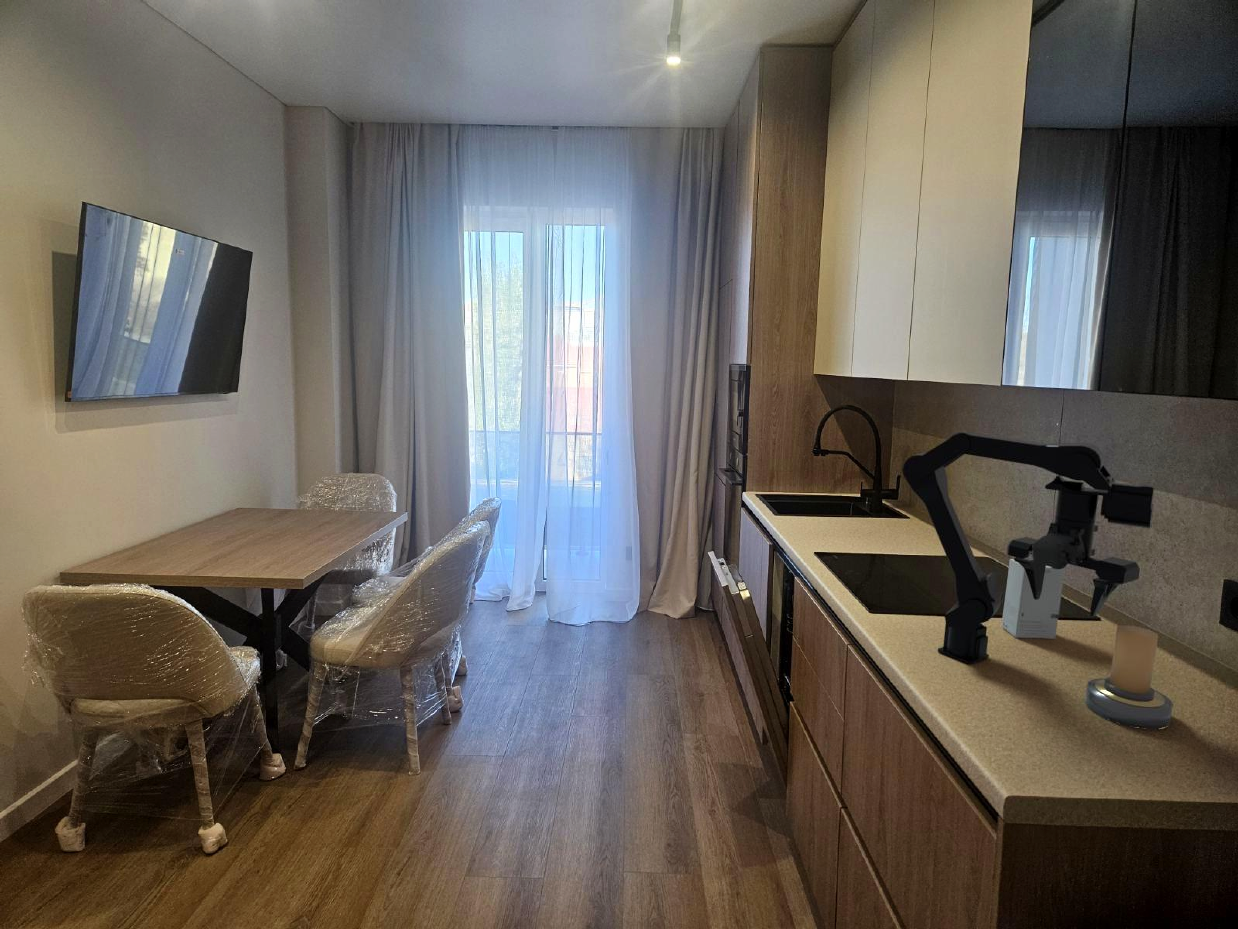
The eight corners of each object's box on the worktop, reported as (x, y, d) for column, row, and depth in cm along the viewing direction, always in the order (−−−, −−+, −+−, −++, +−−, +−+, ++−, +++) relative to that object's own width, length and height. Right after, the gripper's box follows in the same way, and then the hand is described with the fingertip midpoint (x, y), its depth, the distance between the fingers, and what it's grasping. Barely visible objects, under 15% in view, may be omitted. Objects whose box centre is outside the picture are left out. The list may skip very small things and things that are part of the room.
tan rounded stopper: (1104, 694, 112) (1112, 633, 110) (1104, 679, 117) (1112, 621, 115) (1155, 706, 108) (1164, 643, 107) (1152, 690, 114) (1161, 630, 112)
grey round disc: (1071, 705, 115) (1074, 685, 114) (1105, 689, 121) (1108, 671, 120) (1150, 737, 106) (1153, 716, 105) (1182, 718, 111) (1186, 698, 111)
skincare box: (1015, 638, 142) (1023, 566, 140) (999, 627, 148) (1007, 557, 146) (1057, 639, 142) (1066, 567, 140) (1040, 628, 148) (1048, 558, 145)
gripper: (993, 511, 123) (984, 598, 126) (1112, 536, 108) (1099, 635, 110) (1029, 506, 129) (1019, 588, 132) (1147, 528, 114) (1134, 622, 116)
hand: (1063, 607), depth 122 cm, fingers open, 9 cm apart
